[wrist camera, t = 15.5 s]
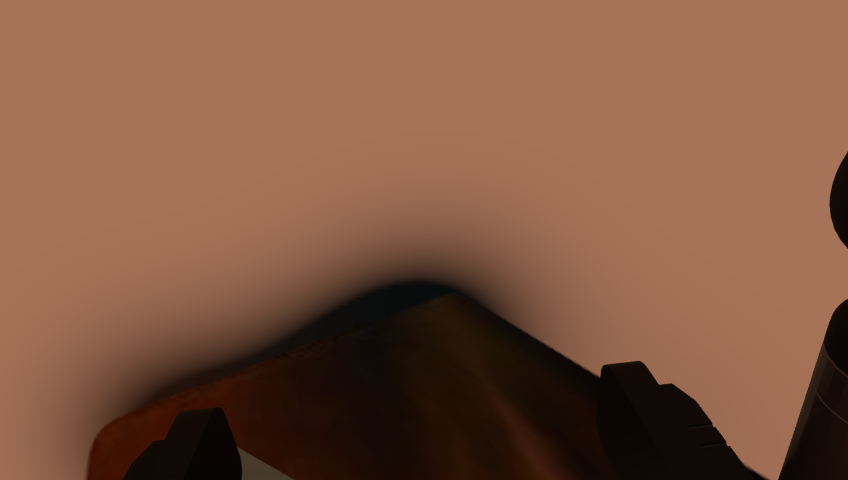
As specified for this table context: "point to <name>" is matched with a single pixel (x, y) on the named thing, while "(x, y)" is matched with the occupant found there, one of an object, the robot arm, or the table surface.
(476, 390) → the table surface
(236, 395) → the table surface
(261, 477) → the socket
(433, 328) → the table surface
